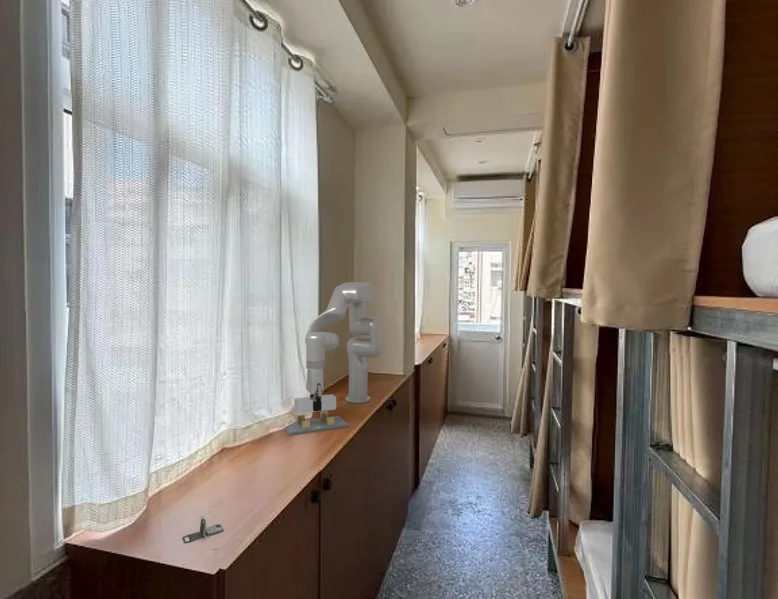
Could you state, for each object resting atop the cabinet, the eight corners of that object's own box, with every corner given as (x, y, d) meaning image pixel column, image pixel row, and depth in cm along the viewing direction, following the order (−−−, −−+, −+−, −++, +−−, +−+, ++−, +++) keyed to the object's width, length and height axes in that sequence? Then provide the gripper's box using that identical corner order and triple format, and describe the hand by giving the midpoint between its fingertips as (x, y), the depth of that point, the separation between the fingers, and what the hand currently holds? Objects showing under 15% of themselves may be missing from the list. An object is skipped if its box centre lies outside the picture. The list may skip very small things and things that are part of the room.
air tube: (294, 410, 169) (294, 398, 169) (332, 406, 176) (332, 394, 176) (297, 414, 164) (297, 401, 164) (336, 409, 171) (336, 397, 171)
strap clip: (221, 526, 100) (221, 509, 100) (224, 532, 97) (224, 514, 97) (181, 538, 95) (181, 520, 95) (184, 545, 92) (184, 526, 92)
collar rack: (282, 425, 171) (282, 415, 171) (338, 417, 181) (338, 408, 181) (289, 435, 159) (289, 425, 159) (348, 427, 169) (348, 417, 169)
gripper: (301, 361, 176) (301, 404, 176) (311, 369, 160) (311, 416, 161) (318, 360, 179) (318, 402, 179) (330, 367, 163) (330, 413, 164)
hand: (315, 408), depth 170 cm, fingers closed on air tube, 5 cm apart
